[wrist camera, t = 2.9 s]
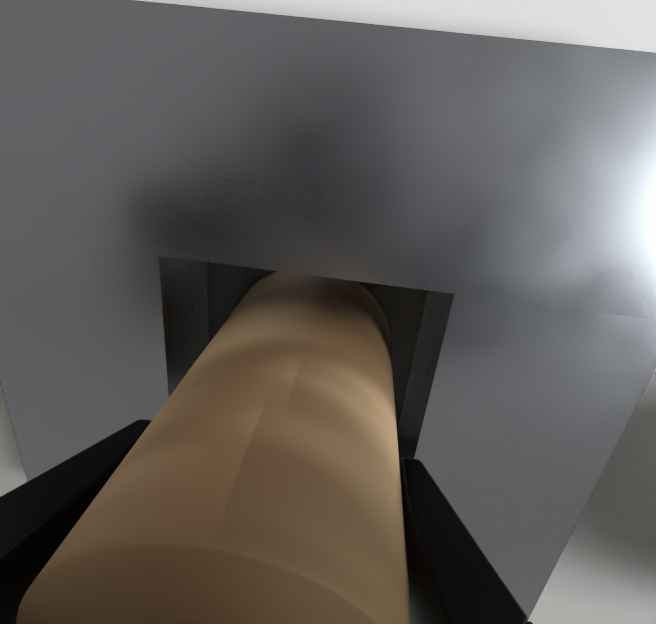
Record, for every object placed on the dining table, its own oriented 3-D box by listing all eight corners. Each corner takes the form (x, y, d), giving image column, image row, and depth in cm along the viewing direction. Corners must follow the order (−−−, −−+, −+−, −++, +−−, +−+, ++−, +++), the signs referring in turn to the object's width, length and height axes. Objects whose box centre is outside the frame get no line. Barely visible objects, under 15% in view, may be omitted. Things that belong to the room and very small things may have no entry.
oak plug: (402, 276, 12) (468, 622, 4) (376, 414, 14) (382, 833, 6) (234, 255, 12) (-57, 536, 4) (232, 393, 15) (40, 768, 6)
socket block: (684, 82, 10) (806, 67, 7) (496, 548, 16) (521, 633, 14) (16, 13, 10) (-111, -25, 8) (99, 486, 17) (47, 555, 14)
